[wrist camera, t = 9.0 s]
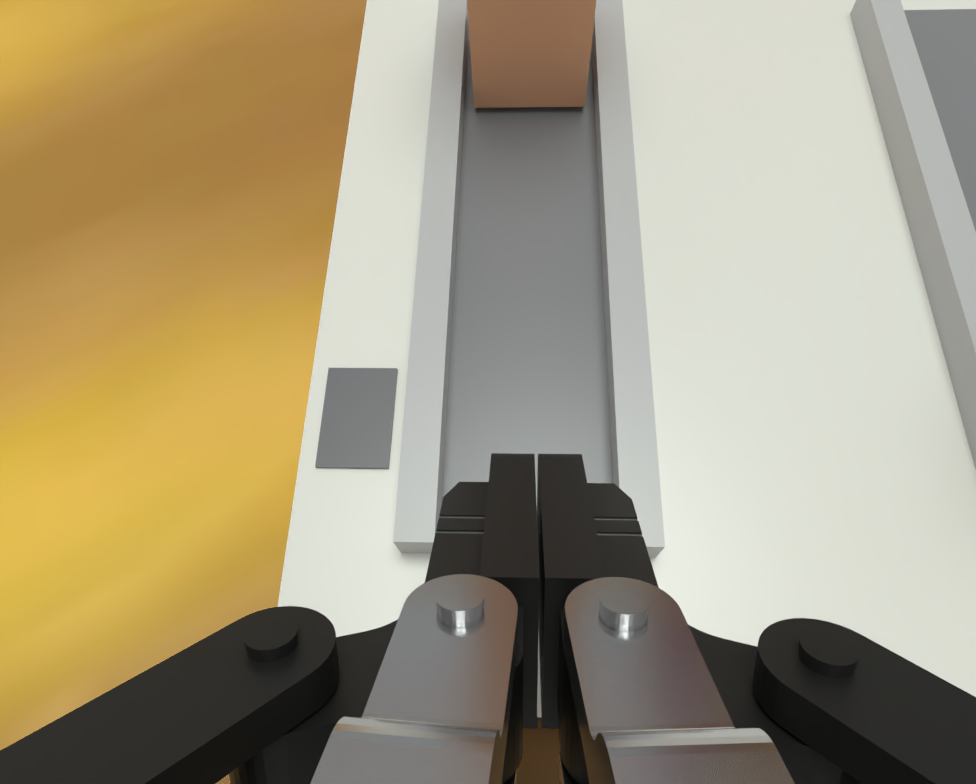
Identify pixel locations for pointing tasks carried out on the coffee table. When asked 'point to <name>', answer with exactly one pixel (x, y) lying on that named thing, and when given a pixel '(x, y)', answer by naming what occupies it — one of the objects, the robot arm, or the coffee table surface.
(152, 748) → the robot arm
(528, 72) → the tan switch lever
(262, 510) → the coffee table surface
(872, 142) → the switch panel
